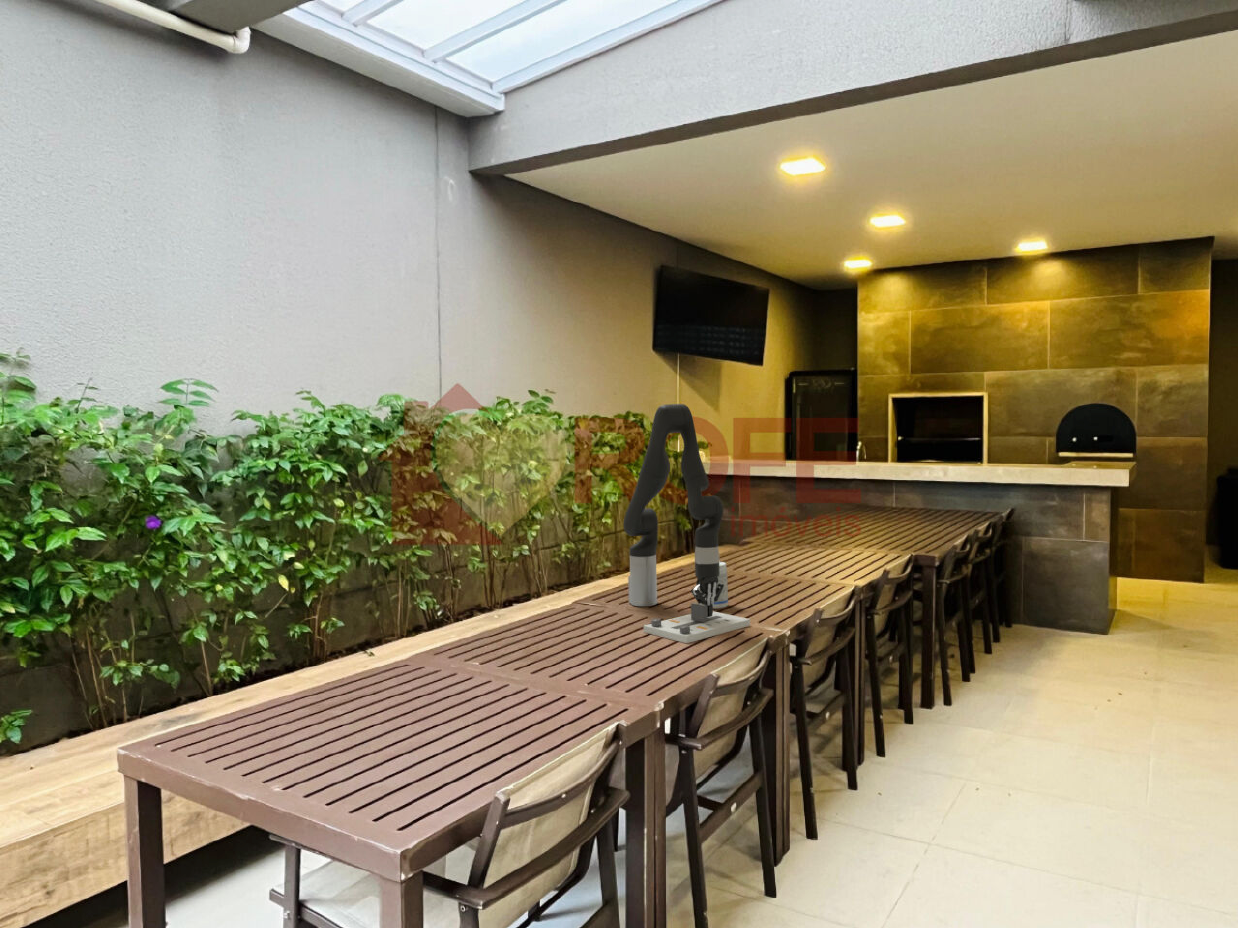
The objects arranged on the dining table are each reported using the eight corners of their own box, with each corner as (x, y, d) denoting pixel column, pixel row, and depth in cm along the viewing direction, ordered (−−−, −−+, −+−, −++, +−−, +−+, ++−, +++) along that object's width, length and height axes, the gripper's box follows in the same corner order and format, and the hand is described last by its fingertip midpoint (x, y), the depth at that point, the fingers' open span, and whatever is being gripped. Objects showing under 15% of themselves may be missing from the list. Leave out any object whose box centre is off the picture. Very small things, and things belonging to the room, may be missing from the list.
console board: (643, 632, 249) (643, 619, 249) (707, 616, 267) (706, 604, 267) (686, 643, 235) (686, 630, 235) (750, 625, 254) (749, 613, 254)
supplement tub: (733, 605, 281) (732, 563, 280) (715, 610, 274) (715, 567, 274) (711, 601, 288) (710, 560, 287) (693, 606, 281) (693, 563, 281)
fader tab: (691, 619, 253) (690, 602, 253) (695, 618, 254) (695, 601, 254) (703, 622, 249) (702, 605, 249) (707, 621, 251) (707, 604, 250)
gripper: (712, 556, 261) (713, 610, 262) (683, 562, 252) (684, 618, 253) (730, 559, 255) (731, 614, 256) (701, 565, 246) (702, 622, 247)
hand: (708, 616), depth 254 cm, fingers closed
